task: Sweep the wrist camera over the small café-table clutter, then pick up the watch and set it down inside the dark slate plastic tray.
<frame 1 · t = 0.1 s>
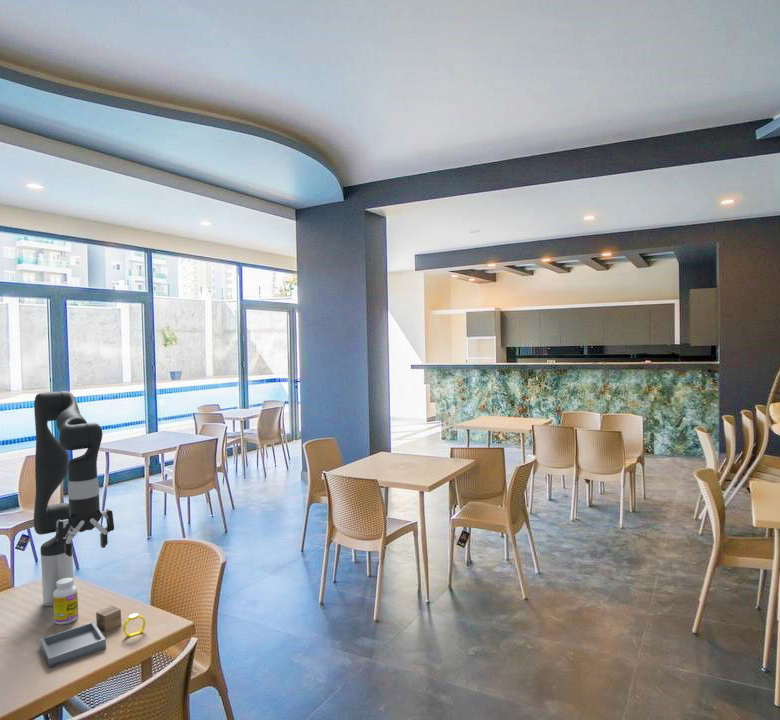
hand: (86, 551, 154), 29 cm above the table, tool pointing down, fingers open, 8 cm apart
slate tray: (73, 647, 157), on the table
walnut block: (109, 626, 169), on the table
watch: (134, 635, 164), on the table
supplement bottle: (66, 620, 174), on the table
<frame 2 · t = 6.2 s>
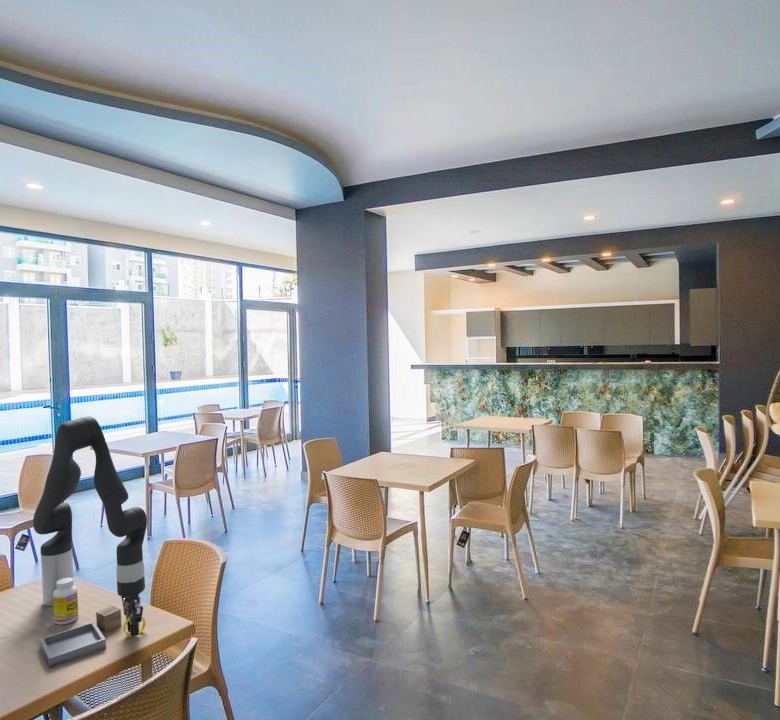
hand: (133, 632, 163), 1 cm above the table, tool pointing down, fingers closed on watch, 2 cm apart
watch: (134, 634, 164), on the table, touching gripper
everything else where it was.
when the fingers open (3 cm above the table, at t = 11.8 s): watch drops 1 cm, resting on slate tray.
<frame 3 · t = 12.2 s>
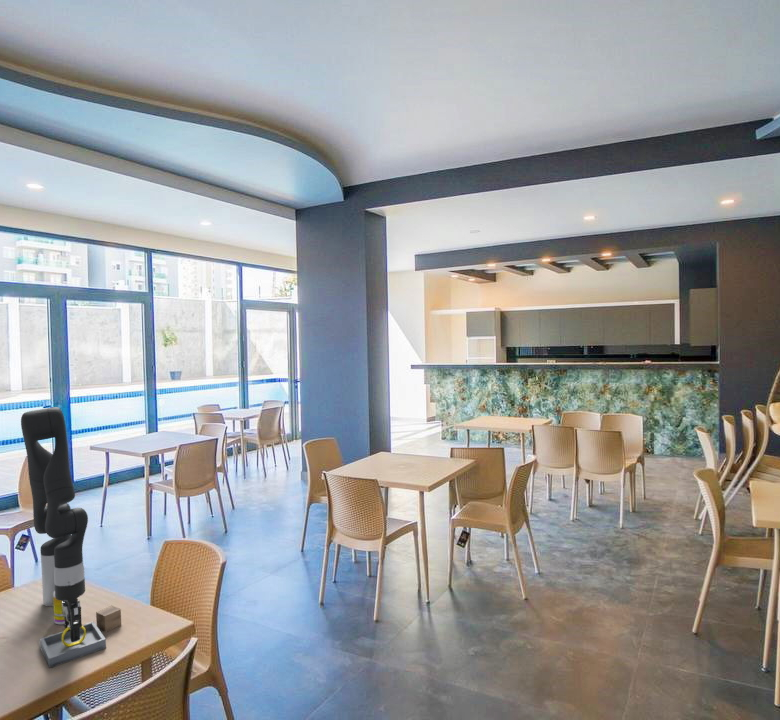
hand: (72, 635, 157), 4 cm above the table, tool pointing down, fingers open, 7 cm apart
watch: (74, 645, 158), point 1 cm above the table, touching slate tray
everything else where it was.
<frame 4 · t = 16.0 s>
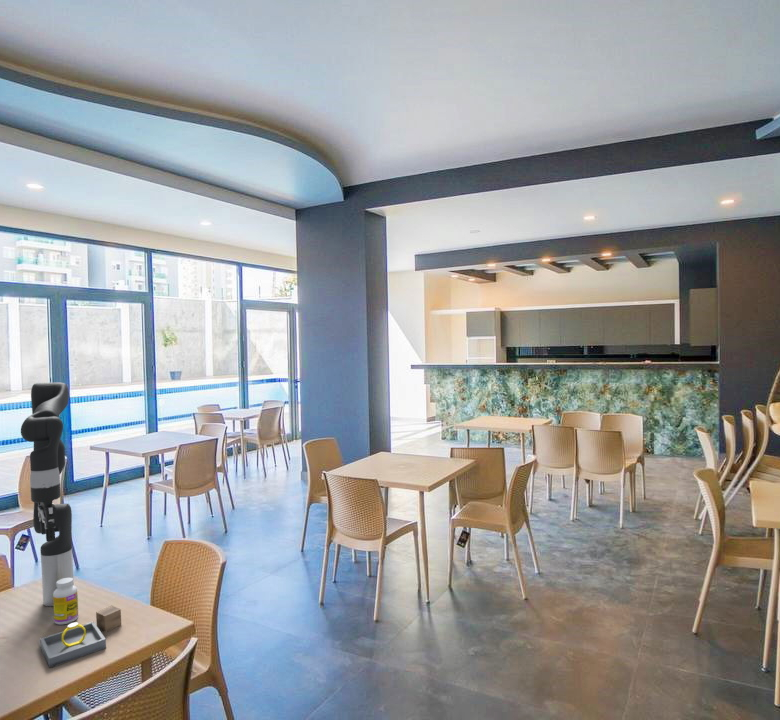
hand: (48, 537, 164), 30 cm above the table, tool pointing down, fingers open, 8 cm apart
nothing on the table moved.
at the end: watch inside the target area on the slate tray (0.3 cm from its centre), point 0.6 cm above the slate tray's base; watch tilted 0°; walnut block moved 0.1 cm from its start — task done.
